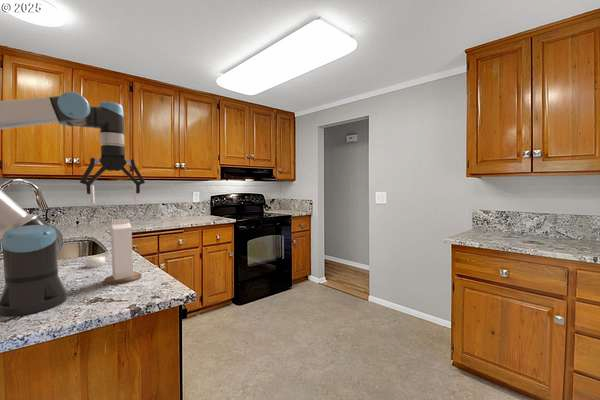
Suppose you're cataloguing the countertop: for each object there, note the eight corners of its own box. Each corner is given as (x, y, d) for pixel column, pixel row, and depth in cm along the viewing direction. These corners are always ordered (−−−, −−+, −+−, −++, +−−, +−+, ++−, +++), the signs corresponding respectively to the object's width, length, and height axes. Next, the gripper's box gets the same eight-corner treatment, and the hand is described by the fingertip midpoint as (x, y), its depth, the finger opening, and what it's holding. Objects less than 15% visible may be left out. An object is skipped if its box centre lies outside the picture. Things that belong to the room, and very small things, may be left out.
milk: (133, 276, 110) (131, 219, 109) (114, 280, 106) (112, 220, 105) (130, 273, 115) (128, 217, 113) (112, 276, 111) (109, 219, 109)
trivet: (141, 280, 108) (140, 278, 108) (102, 286, 102) (102, 283, 102) (141, 272, 118) (141, 270, 118) (106, 276, 113) (106, 274, 113)
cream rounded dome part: (107, 265, 129) (107, 257, 129) (88, 268, 124) (88, 260, 123) (102, 262, 133) (102, 255, 133) (84, 266, 128) (84, 258, 128)
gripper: (150, 148, 116) (152, 201, 117) (73, 144, 105) (75, 203, 106) (150, 146, 110) (152, 202, 111) (68, 142, 98) (70, 204, 99)
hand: (114, 202), depth 108 cm, fingers open, 13 cm apart
